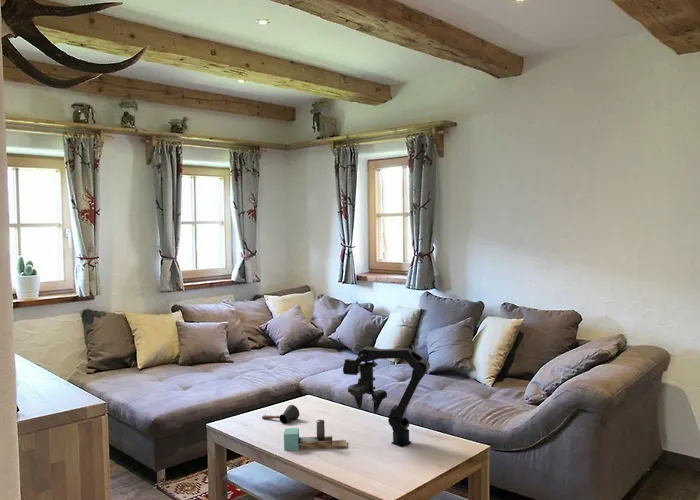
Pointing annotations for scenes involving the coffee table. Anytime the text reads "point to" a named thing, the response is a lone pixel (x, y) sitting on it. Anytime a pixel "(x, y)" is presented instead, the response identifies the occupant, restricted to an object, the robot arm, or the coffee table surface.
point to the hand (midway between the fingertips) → (367, 410)
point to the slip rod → (319, 433)
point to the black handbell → (286, 415)
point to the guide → (324, 444)
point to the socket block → (291, 438)
